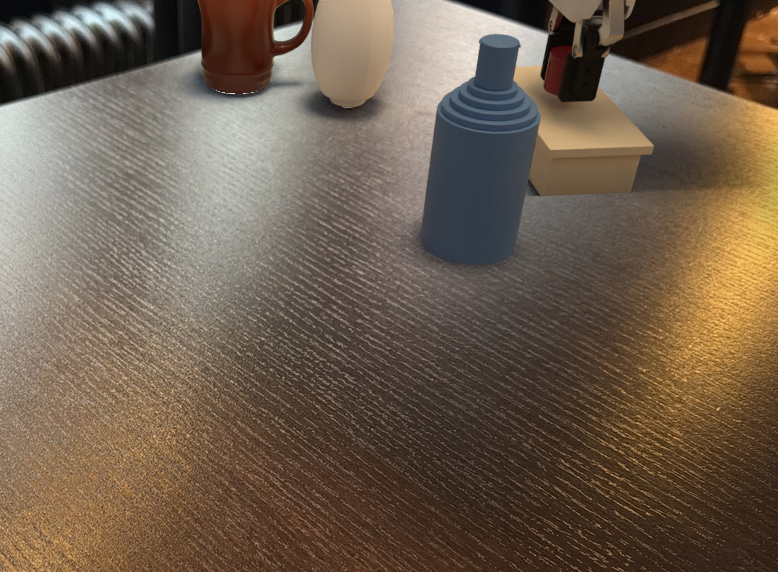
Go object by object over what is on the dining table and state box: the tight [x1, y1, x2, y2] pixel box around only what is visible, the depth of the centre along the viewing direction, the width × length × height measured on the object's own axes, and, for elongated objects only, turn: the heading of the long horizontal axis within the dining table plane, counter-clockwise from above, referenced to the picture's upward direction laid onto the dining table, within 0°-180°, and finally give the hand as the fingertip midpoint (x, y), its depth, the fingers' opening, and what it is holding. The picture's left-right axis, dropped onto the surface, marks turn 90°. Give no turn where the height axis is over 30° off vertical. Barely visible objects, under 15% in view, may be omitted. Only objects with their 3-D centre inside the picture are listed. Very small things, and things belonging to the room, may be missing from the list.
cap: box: [543, 46, 573, 96], centre depth 87 cm, size 4×4×3 cm
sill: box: [513, 65, 655, 197], centre depth 90 cm, size 9×18×5 cm, turn 5°
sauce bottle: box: [310, 0, 395, 108], centre depth 95 cm, size 8×8×18 cm
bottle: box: [419, 33, 541, 266], centre depth 73 cm, size 7×7×17 cm
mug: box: [196, 0, 315, 94], centre depth 101 cm, size 12×9×10 cm
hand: (567, 87), depth 88 cm, fingers closed on cap, 3 cm apart
